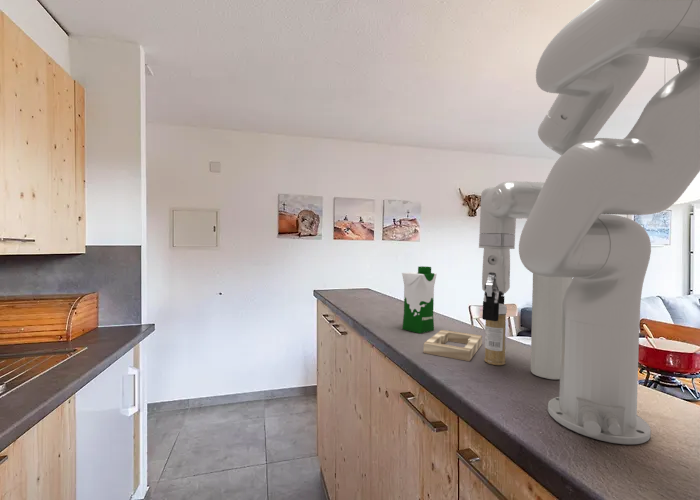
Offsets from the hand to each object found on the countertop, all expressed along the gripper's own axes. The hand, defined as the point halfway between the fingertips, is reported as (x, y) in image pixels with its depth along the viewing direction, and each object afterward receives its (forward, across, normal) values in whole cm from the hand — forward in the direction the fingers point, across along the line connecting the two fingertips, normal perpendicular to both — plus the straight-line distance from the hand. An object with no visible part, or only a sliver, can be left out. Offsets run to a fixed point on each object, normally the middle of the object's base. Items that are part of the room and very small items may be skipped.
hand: (493, 315), depth 78 cm
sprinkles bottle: (+11, -1, -1) cm, 11 cm away
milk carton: (+12, +18, +24) cm, 32 cm away
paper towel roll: (+10, -3, -12) cm, 16 cm away
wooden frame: (+11, +5, +10) cm, 15 cm away
